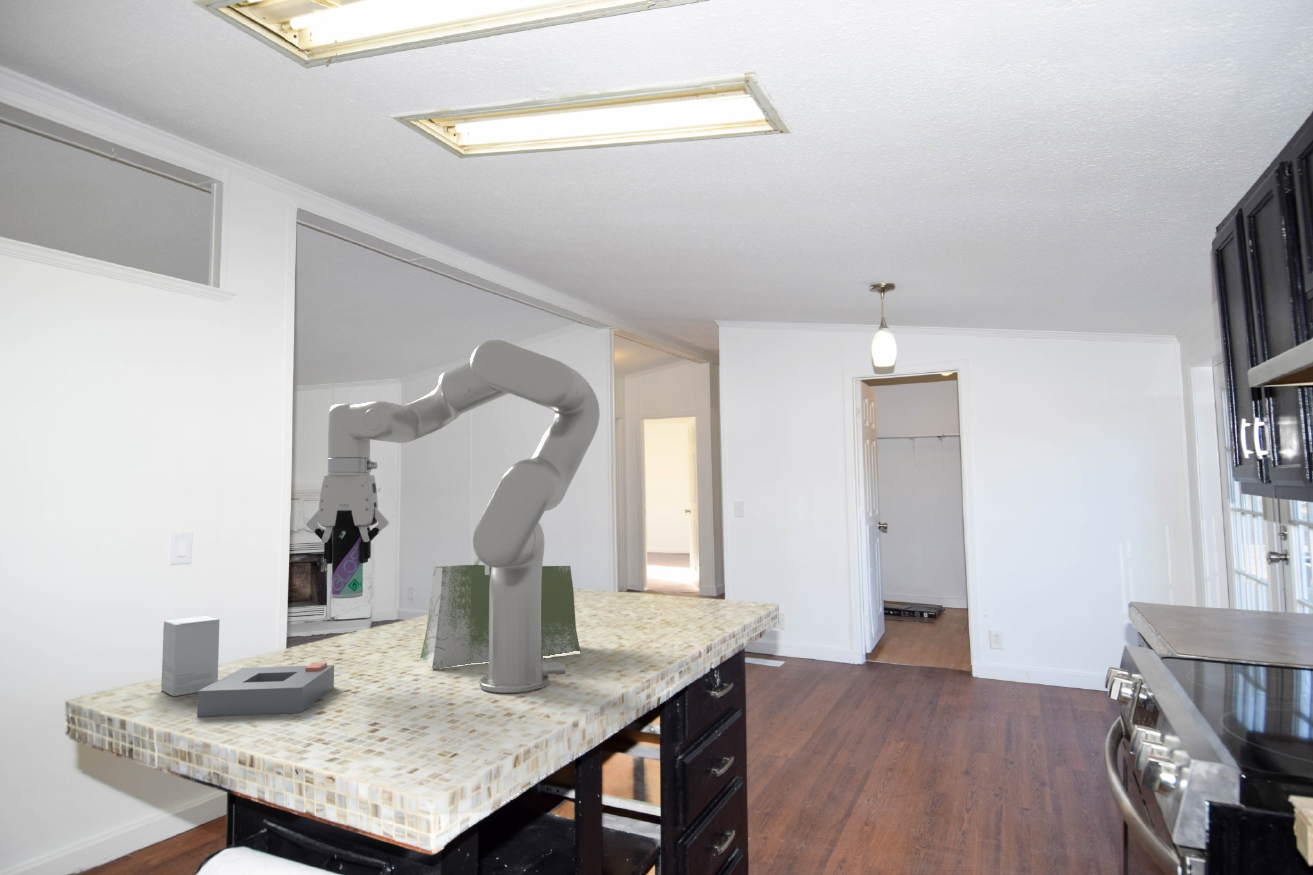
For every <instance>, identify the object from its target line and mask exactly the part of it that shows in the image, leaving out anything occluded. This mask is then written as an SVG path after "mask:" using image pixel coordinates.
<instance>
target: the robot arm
mask: <svg viewBox="0 0 1313 875" xmlns="http://www.w3.org/2000/svg"><path fill="white" fill-rule="evenodd" d="M508 394H510V395H513V396H515V397H519V398H521V399H524V400H527V401H530V402H532V403H535V404H538V405H539V406H543V407H545V408H547V409H550V410H553V412H554V418H553V421H552V423H551V424H550V426H549V427H548V428H547V429H546V431H545V432H544V434H543V435H542V437H541V440H540V442H539V444H538V446H537V447H536V450H535V451H534V452H533V454H532V456H531V458H525V459H523V460H519V461H517V462H515V463H514V464H513V465H511V466H510V467H509V468H508V469H507V471H506V472H505V473H504V474H503V475H502V477H501V478H500V481H499V482H498V484H497V486H496V488H495V490H494V491H493V493H492V495H491V497H490V499H489V501H488V503H487V505H486V506H485V509H484V510H483V512H482V514H481V516H480V518H479V520H478V522H477V524H476V527H475V529H474V532H473V536H472V546H473V551H474V553H475V555H476V558H477V557H478V558H479V560H480V562H481V563H483V565H485V564H486V565H488V566H490V567H491V574H490V584H489V664H488V675H485V676H483V677H481V678H480V680H479V687H480V688H481V689H482V690H484V691H487V692H491V693H497V692H498V694H499V693H500V694H513V693H517V694H518V693H524V692H525V693H527V692H531V691H530V690H532V691H536V690H535V689H537V690H539V689H538V688H540V689H542V688H541V687H543V686H545V687H546V686H548V685H549V684H548V683H550V675H566V663H565V662H563V663H562V662H561V663H560V661H553V662H548V661H547V660H546V661H545V660H544V659H543V655H541V580H542V566H543V564H544V563H543V562H544V556H545V555H544V553H545V535H544V530H543V528H542V526H541V524H540V521H541V519H542V517H543V515H544V513H545V512H546V511H551V510H553V509H554V508H557V506H559V505H560V504H561V502H562V501H563V500H564V498H565V496H566V494H567V491H568V489H569V487H570V485H571V483H572V482H573V479H574V478H575V476H576V473H577V471H578V469H579V468H580V465H582V464H581V463H582V461H583V459H584V457H585V456H586V453H587V452H588V449H589V447H590V445H591V443H592V441H593V440H594V438H595V434H596V433H597V430H598V426H599V424H600V403H599V399H598V398H597V395H596V393H595V391H594V389H593V387H592V386H591V385H590V383H589V382H588V381H587V379H586V378H585V377H584V376H583V375H582V374H580V373H579V372H578V371H576V370H575V369H573V368H572V367H570V366H569V365H567V363H564V362H562V361H561V360H558V359H554V358H552V357H549V356H547V355H543V354H540V353H538V352H535V351H532V350H529V349H526V348H523V347H521V346H518V345H517V344H512V343H510V342H507V341H505V340H502V339H490V340H486V341H484V342H481V344H479V345H478V346H477V347H476V348H475V349H474V350H473V352H472V354H471V357H470V360H469V361H468V362H466V363H463V364H461V365H459V366H456V367H453V368H451V369H448V370H446V371H444V372H443V373H441V375H440V376H439V379H438V384H437V386H436V387H435V389H434V390H432V391H431V392H430V393H429V394H426V395H425V396H423V397H421V398H419V399H416V400H414V401H411V402H409V403H406V404H404V405H402V404H399V403H392V402H389V401H385V400H375V401H374V400H373V401H370V402H369V401H368V402H365V403H359V404H358V403H357V404H356V403H341V404H340V403H338V404H334V405H331V407H330V408H329V411H328V429H327V430H328V433H327V434H328V438H327V440H328V441H327V443H328V445H327V475H324V476H323V479H322V482H321V483H322V484H321V489H320V495H319V501H318V510H317V511H316V512H315V513H314V515H313V516H311V518H310V519H309V520H308V521H307V522H306V524H305V525H306V527H307V528H308V529H310V530H311V531H312V532H314V534H315V536H317V537H318V538H319V539H320V540H321V542H322V543H324V544H323V559H324V560H325V563H326V565H330V564H331V565H332V537H333V527H334V526H335V521H336V515H337V509H338V508H340V507H341V506H339V504H349V506H347V507H349V508H351V510H352V515H353V520H354V524H355V526H357V527H359V530H360V533H361V536H362V542H361V543H360V563H363V564H366V563H368V562H369V559H371V556H372V555H371V554H372V553H371V552H372V550H371V549H372V548H371V547H372V541H373V540H374V539H375V537H377V536H378V535H379V534H380V533H381V532H382V531H383V530H384V529H385V528H386V527H388V526H389V523H390V522H389V520H388V519H387V518H386V517H385V516H384V515H383V513H381V511H380V510H379V504H378V502H379V500H378V490H377V483H376V482H377V481H376V478H375V475H372V474H371V475H370V473H371V471H372V470H377V469H378V461H377V462H376V461H372V459H371V441H378V442H379V441H380V442H389V443H395V444H396V443H397V444H404V443H405V444H406V443H411V442H413V441H416V440H418V439H421V438H424V437H425V436H427V435H430V434H433V433H435V432H436V431H438V430H441V429H443V428H444V427H446V426H447V425H449V424H451V423H452V422H453V421H455V420H456V419H458V418H459V417H460V416H461V415H463V414H465V413H468V412H469V411H471V410H473V409H476V408H478V407H481V406H483V405H485V404H488V403H490V402H492V401H495V400H497V399H499V398H501V397H504V396H506V395H508ZM376 524H377V525H376ZM374 525H375V526H374ZM371 526H374V527H373V528H371ZM322 527H325V529H324V528H322ZM543 688H544V687H543Z"/></svg>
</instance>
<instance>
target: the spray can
mask: <svg viewBox="0 0 1313 875" xmlns="http://www.w3.org/2000/svg"><path fill="white" fill-rule="evenodd" d="M339 506H341V507H340V508H338V509H337V515H336V521H335V526H334V527H333V537H332V563H331V598H332V599H338V600H339V599H355V598H360V597H362V596H363V592H364V590H363V588H364V585H363V583H364V582H363V580H364V579H363V578H364V577H363V575H364V573H363V572H364V563H360V543H361V542H362V536H361V533H360V530H359V527H357V526H355V524H354V520H353V515H352V510H351V508H349V507H347V506H349V504H339Z"/></svg>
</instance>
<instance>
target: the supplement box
mask: <svg viewBox="0 0 1313 875" xmlns="http://www.w3.org/2000/svg"><path fill="white" fill-rule="evenodd" d="M220 621H221V620H220V618H215V617H212V616H208V615H201V616H192V617H183V618H177V619H169V620H164V621H163V629H162V630H163V634H162V639H163V640H162V659H161V660H162V661H161V663H162V664H161V668H162V669H161V688H160V689H161V691H163V692H164V693H166V694H168V695H170V696H172V697H178V696H183V695H185V696H186V695H190V694H195V693H196V694H198V691H199V690H201V689H203V688H205V687H207V686H209V685H211V684H212V683H214V682H216V681H218V680H219V648H220V646H219V644H220Z"/></svg>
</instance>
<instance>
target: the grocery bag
mask: <svg viewBox="0 0 1313 875" xmlns="http://www.w3.org/2000/svg"><path fill="white" fill-rule="evenodd" d="M480 562H481V561H480V560H479V558H478V557H477V556H476V559H475V560H474V562H473V564H464V565H461V564H460V565H445V566H444V565H443V566H434V567H433V571H432V580H431V590H430V598H429V599H430V600H429V608H428V614H427V615H428V616H427V623H426V624H427V625H426V632H425V635H424V639H423V644H422V649H421V653H420V658H419V659H421V658H423V660H425V661H427V662H428V663H429V665H431V667H432V669H439V670H441V669H440V668H444V667H452V666H457V665H465V664H471V663H483V662H489V584H490V574H491V567H490V566H488V565H486V564H480ZM574 592H575V591H574V583H573V577H572V568H571V566H570V565H542V580H541V655H543V656H550V655H555V654H562V653H569V652H573V651H580V652H581V648H580V643H579V642H580V641H579V637H578V632H577V631H578V630H577V622H576V609H575V596H574V595H575V593H574ZM423 660H422V661H423ZM429 665H428V666H429ZM432 669H431V670H432Z"/></svg>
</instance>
